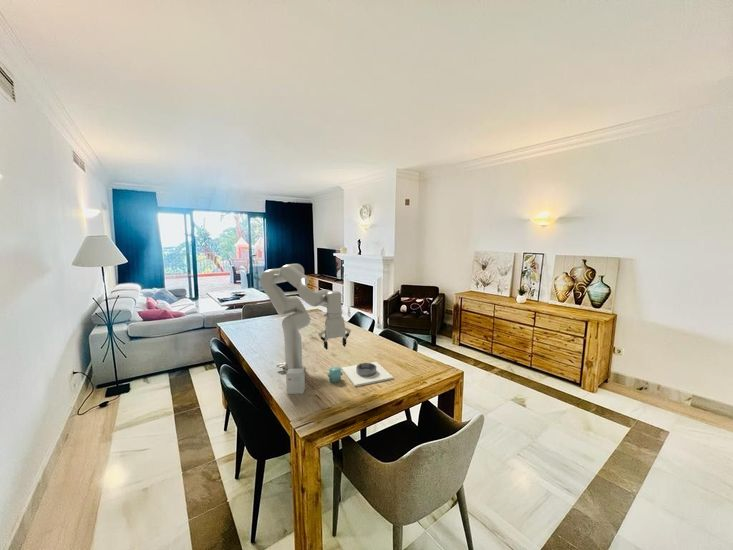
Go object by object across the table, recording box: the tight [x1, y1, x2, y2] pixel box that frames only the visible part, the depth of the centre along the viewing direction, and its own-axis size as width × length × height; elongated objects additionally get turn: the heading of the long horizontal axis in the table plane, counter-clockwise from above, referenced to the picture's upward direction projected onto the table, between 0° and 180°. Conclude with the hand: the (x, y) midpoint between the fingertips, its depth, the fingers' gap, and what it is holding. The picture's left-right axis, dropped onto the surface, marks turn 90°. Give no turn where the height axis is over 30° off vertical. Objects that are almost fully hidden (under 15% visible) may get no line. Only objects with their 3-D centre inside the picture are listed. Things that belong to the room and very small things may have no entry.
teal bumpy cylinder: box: [327, 366, 343, 384], centre depth 157 cm, size 7×6×6 cm
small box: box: [285, 368, 306, 395], centre depth 145 cm, size 8×6×10 cm
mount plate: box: [340, 361, 394, 388], centre depth 165 cm, size 22×22×1 cm
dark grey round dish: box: [356, 362, 376, 377], centre depth 164 cm, size 11×11×3 cm
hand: (335, 347), depth 155 cm, fingers open, 9 cm apart
